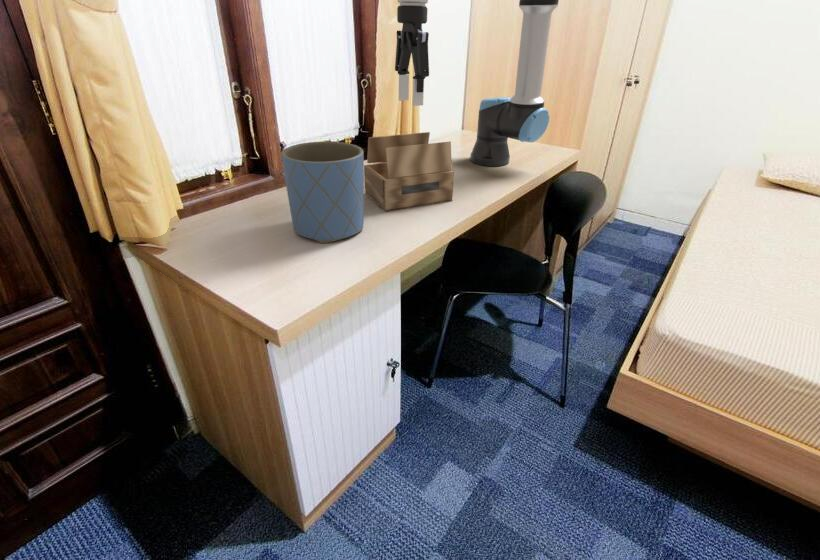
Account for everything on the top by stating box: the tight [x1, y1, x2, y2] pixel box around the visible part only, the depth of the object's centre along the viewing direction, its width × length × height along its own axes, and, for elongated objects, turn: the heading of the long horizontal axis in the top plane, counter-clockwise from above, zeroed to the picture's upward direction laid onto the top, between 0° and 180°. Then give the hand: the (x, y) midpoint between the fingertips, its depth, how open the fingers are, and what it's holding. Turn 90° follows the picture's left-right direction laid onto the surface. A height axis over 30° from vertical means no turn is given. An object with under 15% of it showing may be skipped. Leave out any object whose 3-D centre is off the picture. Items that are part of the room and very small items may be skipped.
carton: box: [364, 162, 455, 212], centre depth 131 cm, size 23×16×9 cm
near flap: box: [386, 141, 453, 178], centre depth 121 cm, size 20×8×1 cm
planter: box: [280, 141, 365, 244], centre depth 107 cm, size 19×19×20 cm
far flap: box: [366, 131, 431, 164], centre depth 132 cm, size 20×8×1 cm
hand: (410, 102), depth 119 cm, fingers open, 8 cm apart
